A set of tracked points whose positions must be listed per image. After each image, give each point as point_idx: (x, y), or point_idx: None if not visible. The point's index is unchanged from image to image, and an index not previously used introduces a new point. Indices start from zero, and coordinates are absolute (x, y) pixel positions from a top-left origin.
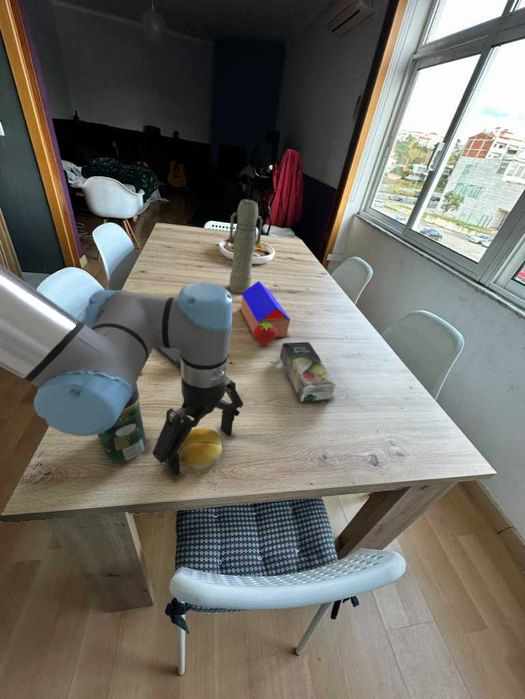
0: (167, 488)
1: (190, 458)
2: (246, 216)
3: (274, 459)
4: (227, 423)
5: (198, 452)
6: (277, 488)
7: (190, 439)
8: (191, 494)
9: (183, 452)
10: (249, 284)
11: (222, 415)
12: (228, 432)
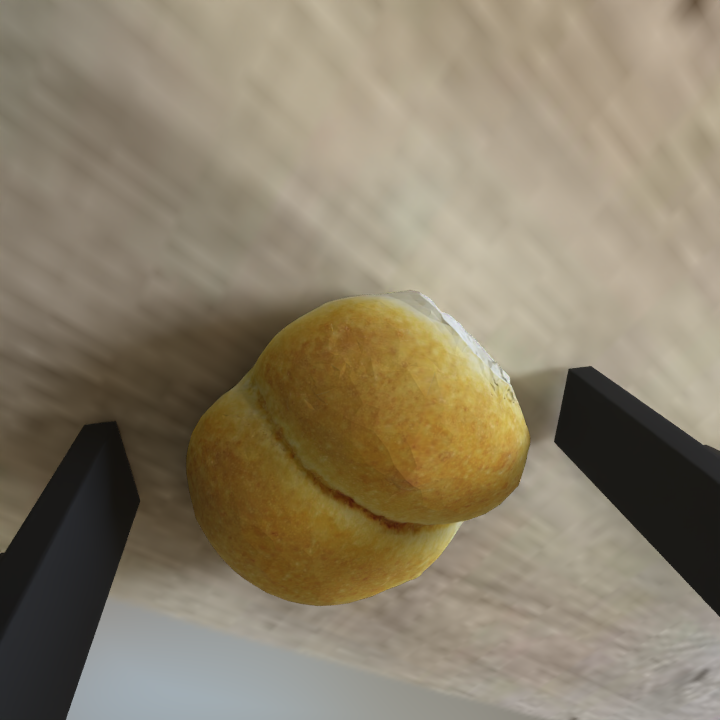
0: None
1: (223, 557)
2: None
3: (582, 620)
4: (646, 506)
5: (293, 585)
6: (479, 699)
7: (317, 446)
8: (149, 603)
9: (207, 478)
10: None
11: (706, 485)
12: (579, 461)
